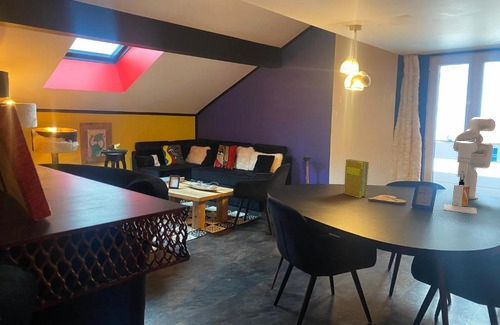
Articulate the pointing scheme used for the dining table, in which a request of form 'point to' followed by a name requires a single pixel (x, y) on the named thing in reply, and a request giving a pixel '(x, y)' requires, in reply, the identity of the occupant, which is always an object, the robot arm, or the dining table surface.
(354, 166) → the book
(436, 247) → the dining table surface
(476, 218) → the dining table surface
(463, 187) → the small box
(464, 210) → the mat
